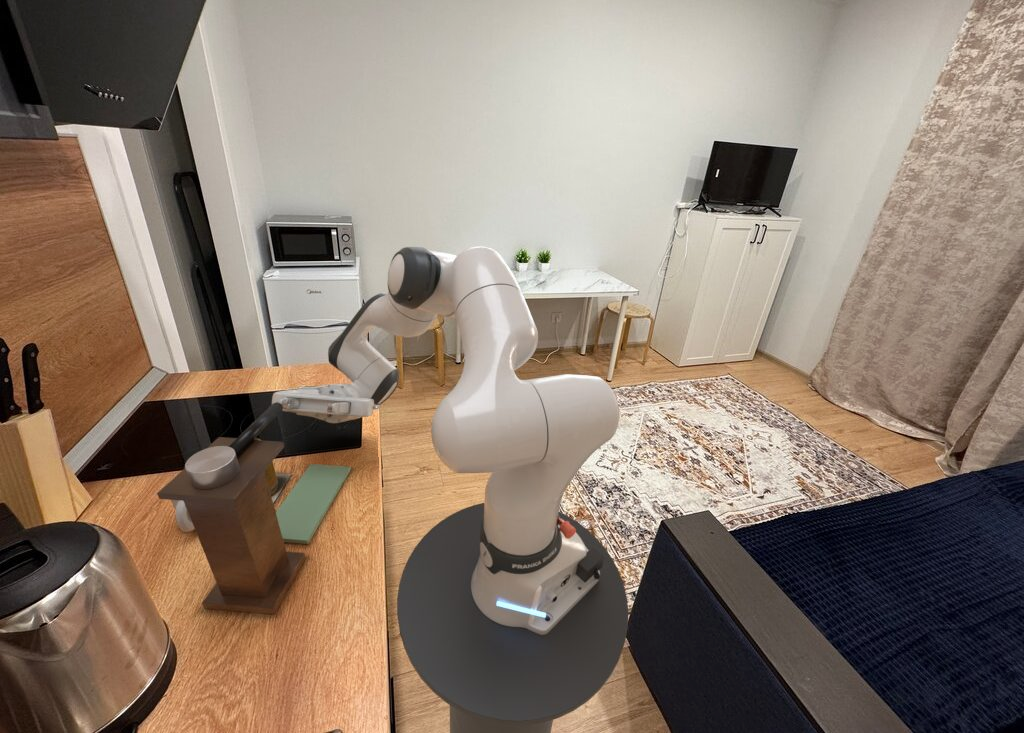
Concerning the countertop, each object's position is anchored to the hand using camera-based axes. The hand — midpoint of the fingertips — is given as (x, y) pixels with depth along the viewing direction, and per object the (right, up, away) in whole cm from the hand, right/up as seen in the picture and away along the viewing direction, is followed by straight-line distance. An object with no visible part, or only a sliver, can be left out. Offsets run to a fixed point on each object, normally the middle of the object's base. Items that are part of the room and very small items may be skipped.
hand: (306, 406), depth 81 cm
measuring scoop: (0, -4, -18) cm, 18 cm away
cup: (-19, -22, -2) cm, 29 cm away
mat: (-1, -20, +4) cm, 20 cm away
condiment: (-12, -18, +7) cm, 23 cm away
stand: (-2, -28, -11) cm, 30 cm away
